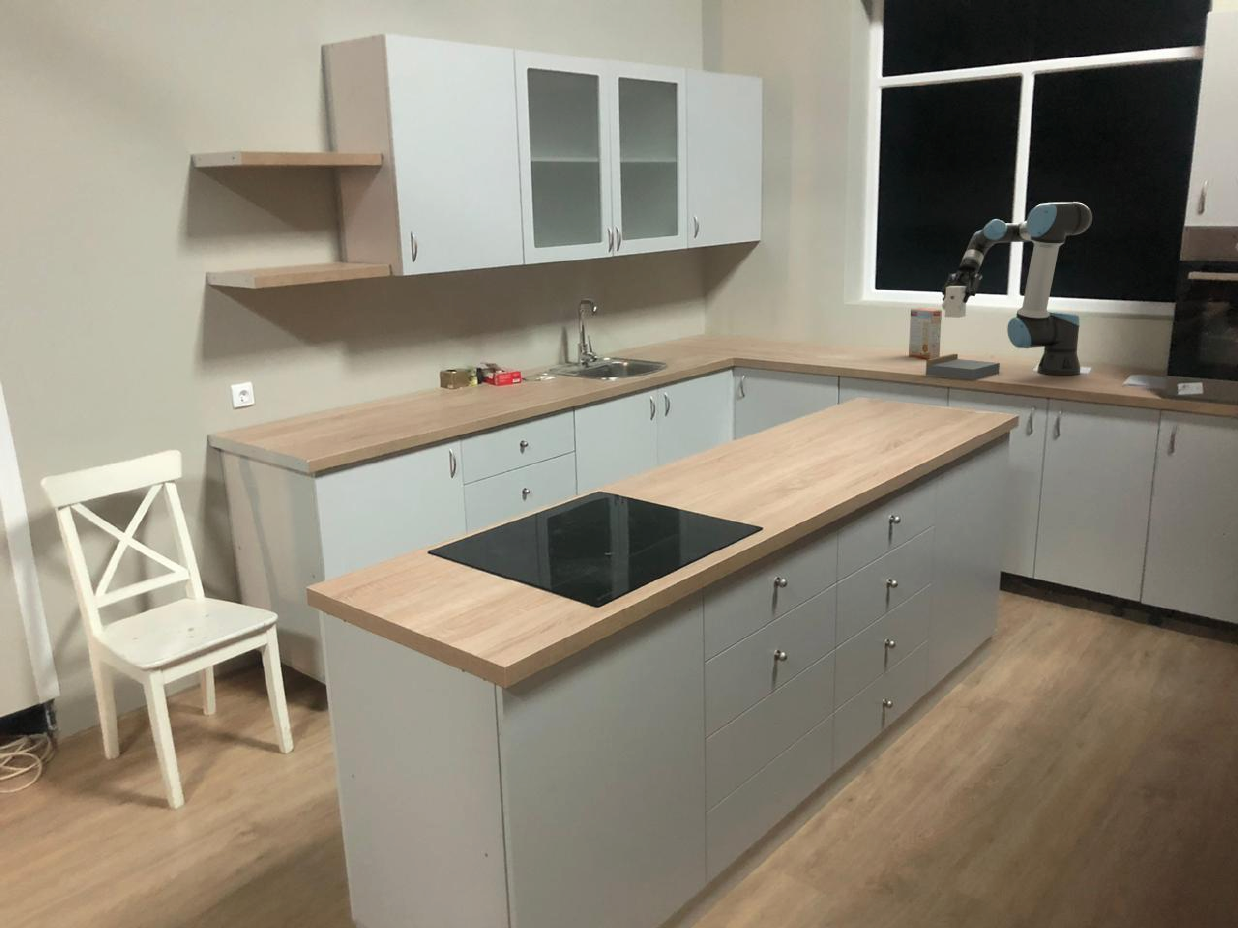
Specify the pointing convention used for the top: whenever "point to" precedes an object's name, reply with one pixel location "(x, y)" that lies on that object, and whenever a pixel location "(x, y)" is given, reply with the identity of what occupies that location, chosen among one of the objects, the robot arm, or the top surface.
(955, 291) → the cabinet block
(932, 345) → the cracker box
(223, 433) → the top surface
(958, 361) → the riser
